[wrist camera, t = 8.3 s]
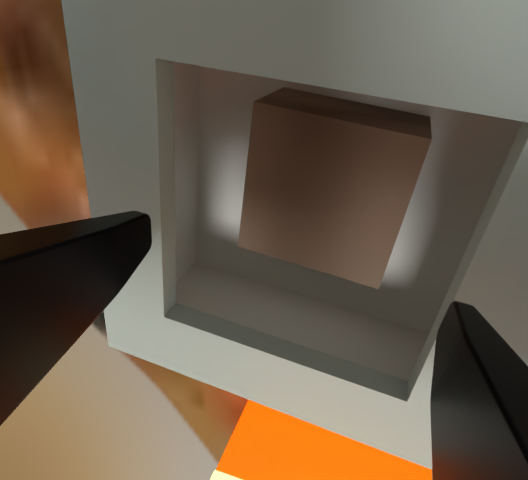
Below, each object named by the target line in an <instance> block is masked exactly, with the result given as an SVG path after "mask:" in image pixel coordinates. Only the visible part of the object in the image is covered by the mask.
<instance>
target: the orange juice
mask: <svg viewBox="0 0 528 480" xmlns="http://www.w3.org/2000/svg"><path fill="white" fill-rule="evenodd" d="M210 480H432V478H431V469H428V468H426V467H423V466H421V465H418V464H415V463H413V462H410V461H408V460H405V459H402V458H400V457H397V456H394V455H392V454H389V453H387V452H384V451H381V450H379V449H376V448H374V447H371V446H368V445H366V444H363V443H361V442H358V441H355V440H353V439H350V438H348V437H345V436H342V435H340V434H337V433H334V432H332V431H329V430H327V429H324V428H321V427H319V426H316V425H314V424H311V423H308V422H306V421H303V420H301V419H298V418H295V417H293V416H290V415H287V414H285V413H282V412H280V411H277V410H274V409H272V408H269V407H267V406H264V405H261V404H259V403H256V402H254V401H251V400H248V402H247V404H246V406H245V408H244V410H243V412H242V414H241V417H240V419H239V421H238V423H237V425H236V427H235V430H234V432H233V434H232V436H231V438H230V440H229V442H228V445H227V447H226V449H225V451H224V453H223V455H222V458H221V460H220V462H219V464H218V466H217V468H216V470H214V472H213V474H212V476H211V478H210Z"/></svg>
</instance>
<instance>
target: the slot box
mask: <svg viewBox="0 0 528 480" xmlns="http://www.w3.org/2000/svg"><path fill="white" fill-rule="evenodd" d="M61 2H62V9H63V16H64V23H65V31H66V38H67V45H68V53H69V60H70V67H71V75H72V82H73V89H74V96H75V104H76V111H77V118H78V126H79V133H80V140H81V148H82V155H83V162H84V170H85V177H86V184H87V191H88V199H89V206H90V213H91V218H95V217H100V216H106V215H111V214H117V213H122V212H128V211H139V212H142V213H146V214H148V215H149V216H150V218H151V231H152V245H151V248H150V250H149V252H148V253H147V255H146V256H145V257H144V259H143V260H142V262H141V263H140V264H139V266H138V267H137V269H136V270H135V271H134V273H133V274H132V276H131V277H130V278H129V280H128V281H127V283H126V284H125V285H124V287H123V288H122V289H121V291H120V292H119V293H118V294H117V296H116V297H115V298H114V299H113V300H112V301H111V303H110V304H109V305H108V306H107V307H106V308H105V309H104V316H105V323H106V330H107V338H108V343H109V346H110V347H113V348H115V349H118V350H120V351H123V352H126V353H128V354H131V355H133V356H136V357H139V358H141V359H144V360H147V361H149V362H152V363H154V364H157V365H160V366H162V367H165V368H167V369H170V370H173V371H175V372H178V373H180V374H183V375H186V376H188V377H191V378H194V379H196V380H199V381H201V382H204V383H207V384H209V385H212V386H214V387H217V388H220V389H222V390H225V391H227V392H230V393H233V394H235V395H238V396H240V397H243V398H246V399H248V400H251V401H254V402H256V403H259V404H261V405H264V406H267V407H269V408H272V409H274V410H277V411H280V412H282V413H285V414H287V415H290V416H293V417H295V418H298V419H301V420H303V421H306V422H308V423H311V424H314V425H316V426H319V427H321V428H324V429H327V430H329V431H332V432H334V433H337V434H340V435H342V436H345V437H348V438H350V439H353V440H355V441H358V442H361V443H363V444H366V445H368V446H371V447H374V448H376V449H379V450H381V451H384V452H387V453H389V454H392V455H394V456H397V457H400V458H402V459H405V460H408V461H410V462H413V463H415V464H418V465H421V466H423V467H426V468H428V469H431V470H432V443H431V414H430V397H431V385H432V375H433V365H434V355H435V345H436V337H437V332H438V329H439V327H440V325H441V322H442V320H443V318H444V316H445V314H446V311H447V309H448V307H449V305H450V303H451V302H453V301H459V302H463V303H466V304H470V305H472V306H474V307H475V308H476V309H477V310H478V311H479V312H480V314H481V315H482V316H483V317H484V318H485V319H486V320H487V321H488V322H489V323H490V325H491V326H492V327H493V328H494V329H495V330H496V331H497V332H498V333H499V335H500V336H501V337H502V338H503V339H504V340H505V341H506V342H507V343H508V345H509V346H510V347H511V348H512V349H513V350H514V351H515V352H516V353H517V355H518V356H519V357H520V358H521V359H522V360H523V361H524V362H525V363H526V365H527V366H528V0H61ZM283 87H285V88H290V89H295V90H300V91H305V92H310V93H315V94H320V95H325V96H330V97H335V98H340V99H345V100H350V101H355V102H360V103H365V104H370V105H375V106H380V107H385V108H390V109H395V110H400V111H405V112H409V113H414V114H419V115H424V116H429V117H430V121H431V135H432V140H431V143H430V146H429V149H428V152H427V154H426V157H425V160H424V163H423V166H422V169H421V171H420V174H419V177H418V180H417V183H416V185H415V188H414V191H413V194H412V197H411V199H410V202H409V205H408V208H407V211H406V214H405V216H404V219H403V222H402V225H401V228H400V230H399V233H398V236H397V239H396V242H395V244H394V247H393V250H392V253H391V256H390V259H389V261H388V264H387V267H386V270H385V273H384V275H383V278H382V281H381V284H380V287H379V289H376V288H373V287H369V286H366V285H363V284H360V283H356V282H353V281H350V280H347V279H343V278H340V277H337V276H333V275H330V274H327V273H324V272H320V271H317V270H314V269H311V268H307V267H304V266H301V265H298V264H294V263H291V262H288V261H284V260H281V259H278V258H275V257H271V256H268V255H265V254H262V253H258V252H255V251H252V250H248V249H245V248H242V247H239V246H238V240H239V231H240V222H241V212H242V203H243V194H244V185H245V176H246V167H247V157H248V148H249V139H250V130H251V121H252V112H253V103H254V101H256V100H258V99H260V98H262V97H264V96H266V95H268V94H271V93H273V92H275V91H277V90H279V89H281V88H283Z"/></svg>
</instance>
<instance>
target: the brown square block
mask: <svg viewBox="0 0 528 480" xmlns="http://www.w3.org/2000/svg"><path fill="white" fill-rule="evenodd" d="M431 140H432V135H431V121H430V117H429V116H424V115H419V114H414V113H409V112H405V111H400V110H395V109H390V108H385V107H380V106H375V105H370V104H365V103H360V102H355V101H350V100H345V99H340V98H335V97H330V96H325V95H320V94H315V93H310V92H305V91H300V90H295V89H290V88H285V87H283V88H281V89H279V90H277V91H275V92H273V93H271V94H268V95H266V96H264V97H262V98H260V99H258V100H256V101H254V103H253V112H252V121H251V130H250V139H249V148H248V157H247V167H246V176H245V185H244V194H243V203H242V212H241V222H240V231H239V240H238V246H239V247H242V248H245V249H248V250H252V251H255V252H258V253H262V254H265V255H268V256H271V257H275V258H278V259H281V260H284V261H288V262H291V263H294V264H298V265H301V266H304V267H307V268H311V269H314V270H317V271H320V272H324V273H327V274H330V275H333V276H337V277H340V278H343V279H347V280H350V281H353V282H356V283H360V284H363V285H366V286H369V287H373V288H376V289H379V287H380V284H381V281H382V278H383V275H384V273H385V270H386V267H387V264H388V261H389V259H390V256H391V253H392V250H393V247H394V244H395V242H396V239H397V236H398V233H399V230H400V228H401V225H402V222H403V219H404V216H405V214H406V211H407V208H408V205H409V202H410V199H411V197H412V194H413V191H414V188H415V185H416V183H417V180H418V177H419V174H420V171H421V169H422V166H423V163H424V160H425V157H426V154H427V152H428V149H429V146H430V143H431Z"/></svg>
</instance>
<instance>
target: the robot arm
mask: <svg viewBox="0 0 528 480" xmlns="http://www.w3.org/2000/svg"><path fill="white" fill-rule="evenodd" d="M151 245H152V231H151V218H150V216H149V215H148V214H146V213H142V212H139V211H128V212H122V213H117V214H111V215H106V216H100V217H95V218H89V219H84V220H78V221H73V222H67V223H62V224H56V225H51V226H45V227H40V228H34V229H28V230H23V231H17V232H12V233H7V234H1V235H0V426H1V424H3V422H4V421H5V420H6V419H7V418H8V417H9V416H10V415H11V413H12V412H13V411H14V410H15V409H16V407H18V406H19V404H20V403H21V402H22V401H23V400H24V399H25V398H26V396H27V395H28V394H29V393H30V392H31V391H32V390H33V389H34V388H35V386H36V385H37V384H38V383H39V382H40V381H41V380H42V379H43V378H44V376H45V375H46V374H47V373H48V372H49V371H50V370H51V369H52V367H53V366H54V365H55V364H56V363H57V362H58V361H59V360H60V359H61V357H62V356H63V355H64V354H65V353H66V352H67V351H68V350H69V348H70V347H71V346H72V345H73V344H74V343H75V342H76V341H77V340H78V338H79V337H80V336H81V335H82V334H83V333H84V332H85V331H86V329H87V328H88V327H89V326H90V325H91V324H92V323H93V322H94V320H95V319H96V318H97V317H98V316H99V315H100V314H101V313H102V312H103V310H104V309H105V308H106V307H107V306H108V305H109V304H110V303H111V301H112V300H113V299H114V298H115V297H116V296H117V294H118V293H119V292H120V291H121V289H122V288H123V287H124V285H125V284H126V283H127V281H128V280H129V278H130V277H131V276H132V274H133V273H134V271H135V270H136V269H137V267H138V266H139V264H140V263H141V262H142V260H143V259H144V257H145V256H146V255H147V253H148V252H149V250H150V248H151ZM430 414H431V443H432V472H433V480H528V366H527V365H526V363H525V362H524V361H523V360H522V359H521V358H520V357H519V356H518V355H517V353H516V352H515V351H514V350H513V349H512V348H511V347H510V346H509V345H508V343H507V342H506V341H505V340H504V339H503V338H502V337H501V336H500V335H499V333H498V332H497V331H496V330H495V329H494V328H493V327H492V326H491V325H490V323H489V322H488V321H487V320H486V319H485V318H484V317H483V316H482V315H481V314H480V312H479V311H478V310H477V309H476V308H475V307H474V306H472V305H470V304H466V303H463V302H459V301H453V302H451V303H450V305H449V307H448V309H447V311H446V314H445V316H444V318H443V320H442V322H441V325H440V327H439V329H438V332H437V337H436V345H435V355H434V365H433V375H432V385H431V397H430Z"/></svg>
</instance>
